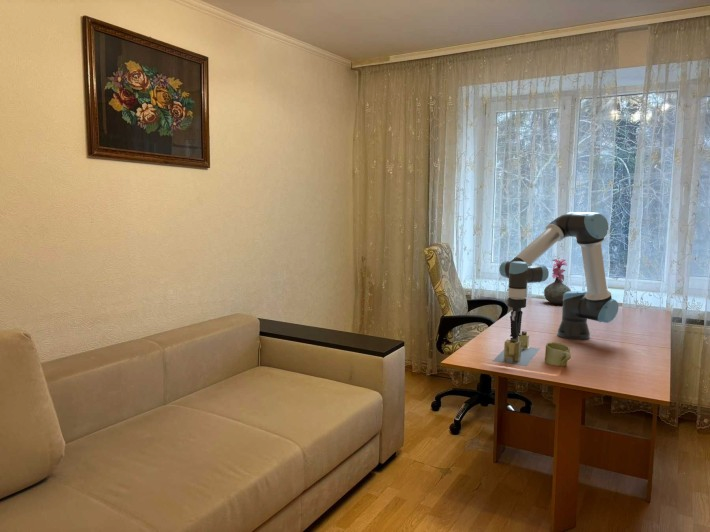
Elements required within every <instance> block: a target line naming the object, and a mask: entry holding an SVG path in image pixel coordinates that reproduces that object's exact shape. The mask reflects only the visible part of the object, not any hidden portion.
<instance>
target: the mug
mask: <svg viewBox="0 0 710 532" xmlns="http://www.w3.org/2000/svg"><path fill="white" fill-rule="evenodd" d="M544 356H545V357H544V362H545V363H546V364H548V365H551V366H558V367H563V368H565V366H567V365H568V361H569V360H570V359H571V356H572V355H571V349H570V347H569V346H568V345H566V344H562V343H559V342H548V343H546V344H545V355H544Z"/></svg>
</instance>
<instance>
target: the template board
mask: <svg viewBox="0 0 710 532" xmlns="http://www.w3.org/2000/svg"><path fill="white" fill-rule="evenodd" d="M540 349H541V348H540V347H532V346H529V347H528V348H524V349H523V350H522V351H521V359H520V360H519V361H518V362H517V361H513V363H512V364H510V363H508V364H509V365H515V366H521V367H522V366H524V367H527V366H528V365H529V363H530V362H531V361H532V360H533V358H534V357H535V356H536V354H537V353H538V352H539V351H540ZM492 362H497V363H503V364H507V363H506V360H504V349H503V350H502V351H500V353H499V354H498V355H497V356H496V357H495V358H493V359H492Z"/></svg>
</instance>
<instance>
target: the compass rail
mask: <svg viewBox="0 0 710 532" xmlns="http://www.w3.org/2000/svg"><path fill="white" fill-rule="evenodd" d="M520 335H521V336H518V337H519V341H521V351H522V350H523V349H524V348H528V347H530V344H529V343H530V334H529V333H528V334H527V331H523V330H521V333H520ZM513 360H514V358H513V357H509V356H507V357H506V363H505V364H509V363H510V364H509V365H513V364H512V363H513Z"/></svg>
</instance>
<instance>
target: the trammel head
mask: <svg viewBox="0 0 710 532" xmlns="http://www.w3.org/2000/svg"><path fill="white" fill-rule="evenodd" d="M503 347H504V349H503V350H504V360H506V357H507V356H509V357H513V358H514V360H513V361H517V362H518V361H519V360H520V359H521V341H516V338H512V337H510V339H506V340H505V341H504V345H503Z"/></svg>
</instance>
